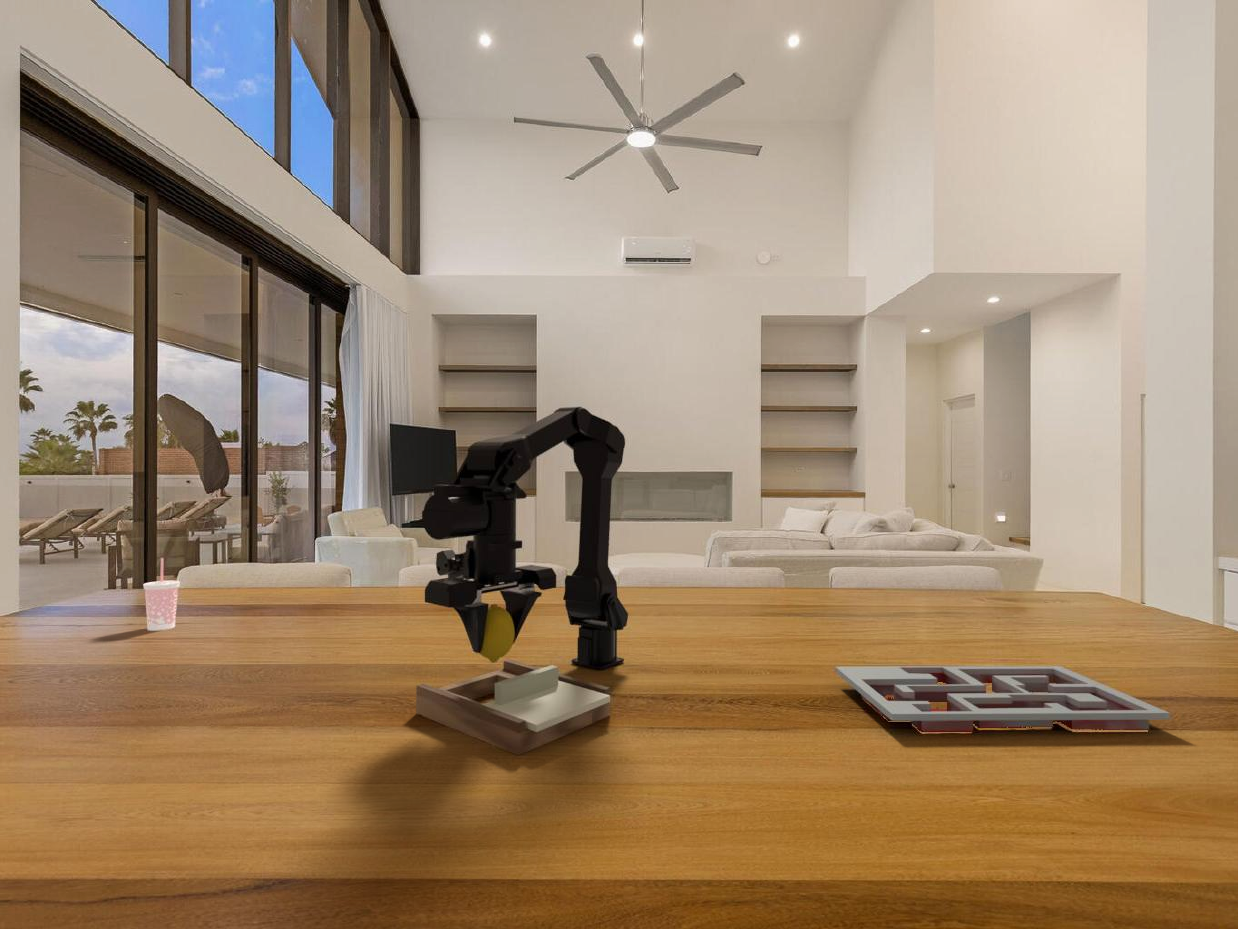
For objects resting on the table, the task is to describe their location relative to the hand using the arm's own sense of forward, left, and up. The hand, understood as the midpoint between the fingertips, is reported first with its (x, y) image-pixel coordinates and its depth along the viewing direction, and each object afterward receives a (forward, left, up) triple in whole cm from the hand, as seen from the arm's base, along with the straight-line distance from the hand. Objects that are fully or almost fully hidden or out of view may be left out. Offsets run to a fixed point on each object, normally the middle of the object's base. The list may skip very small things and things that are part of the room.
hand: (494, 647), depth 91 cm
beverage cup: (+14, -85, -8) cm, 87 cm away
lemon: (0, 0, -2) cm, 2 cm away
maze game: (-44, +51, -9) cm, 68 cm away
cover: (0, +10, -6) cm, 12 cm away
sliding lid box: (0, +4, -8) cm, 9 cm away
